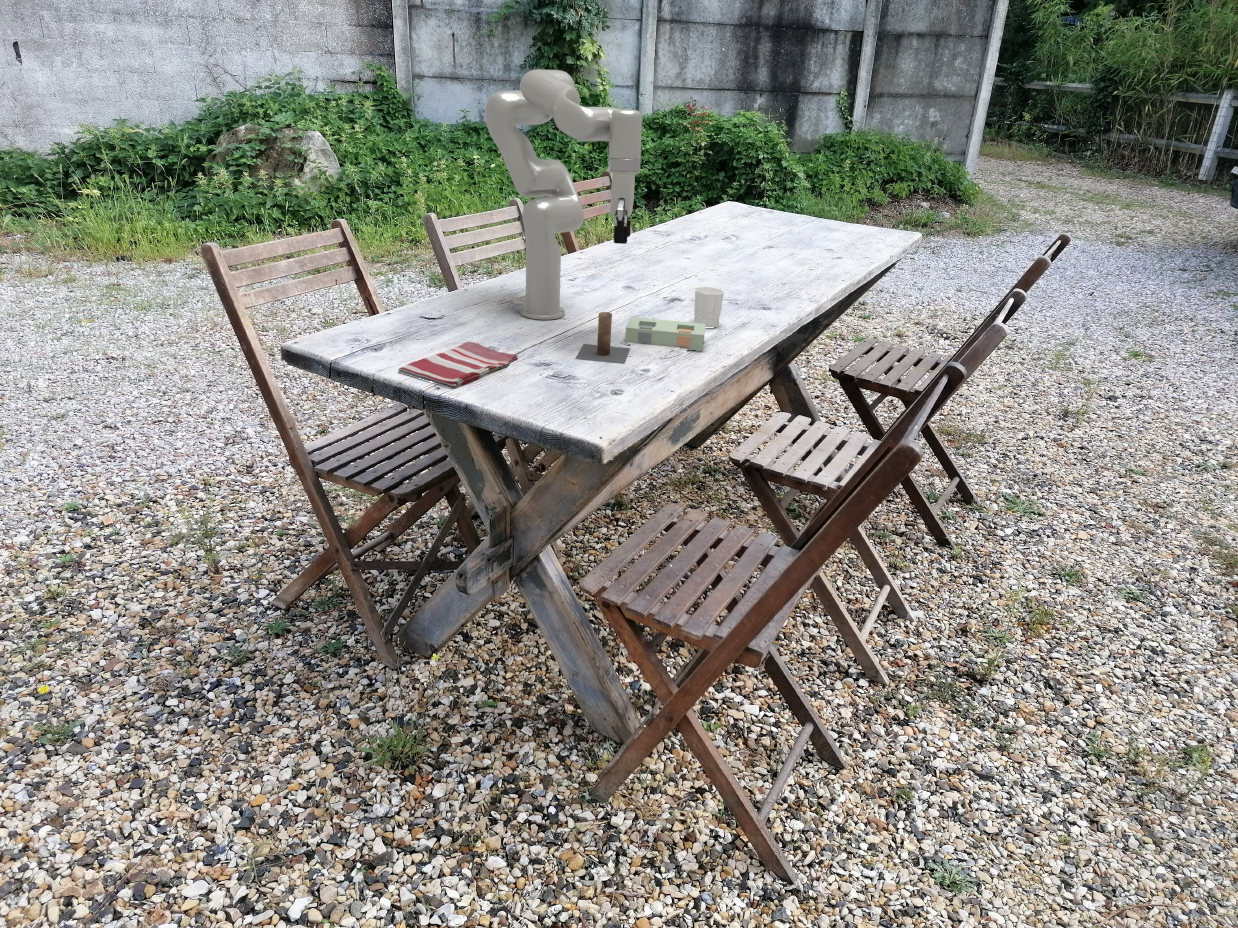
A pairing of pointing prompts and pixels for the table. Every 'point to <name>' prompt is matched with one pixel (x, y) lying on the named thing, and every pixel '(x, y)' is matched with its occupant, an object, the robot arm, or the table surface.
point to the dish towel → (459, 365)
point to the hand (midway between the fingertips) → (622, 240)
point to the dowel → (604, 333)
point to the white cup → (708, 305)
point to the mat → (615, 356)
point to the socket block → (665, 333)
